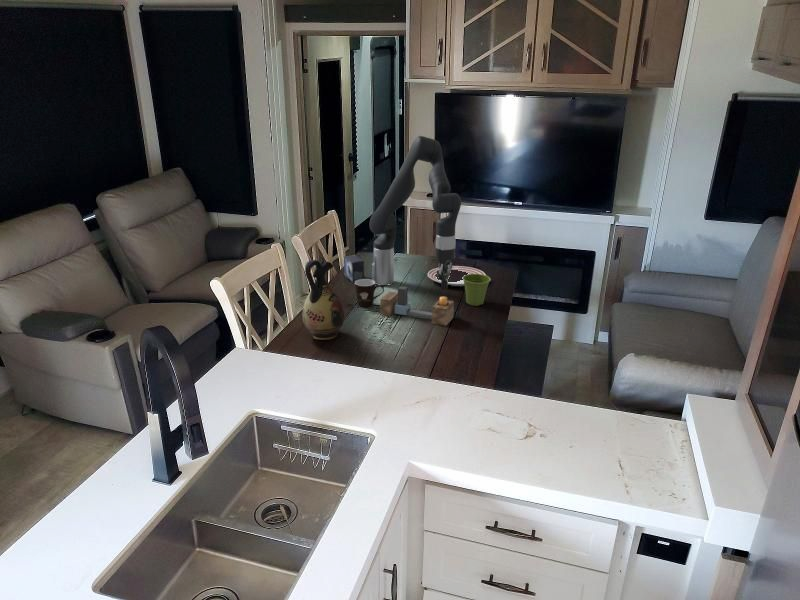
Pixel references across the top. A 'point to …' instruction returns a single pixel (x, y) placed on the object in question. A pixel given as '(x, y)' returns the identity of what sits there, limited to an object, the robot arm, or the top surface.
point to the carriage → (402, 301)
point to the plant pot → (475, 288)
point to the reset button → (443, 301)
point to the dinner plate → (460, 268)
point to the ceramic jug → (322, 304)
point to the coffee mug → (366, 292)
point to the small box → (353, 267)
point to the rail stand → (438, 315)
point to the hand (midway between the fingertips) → (444, 288)
